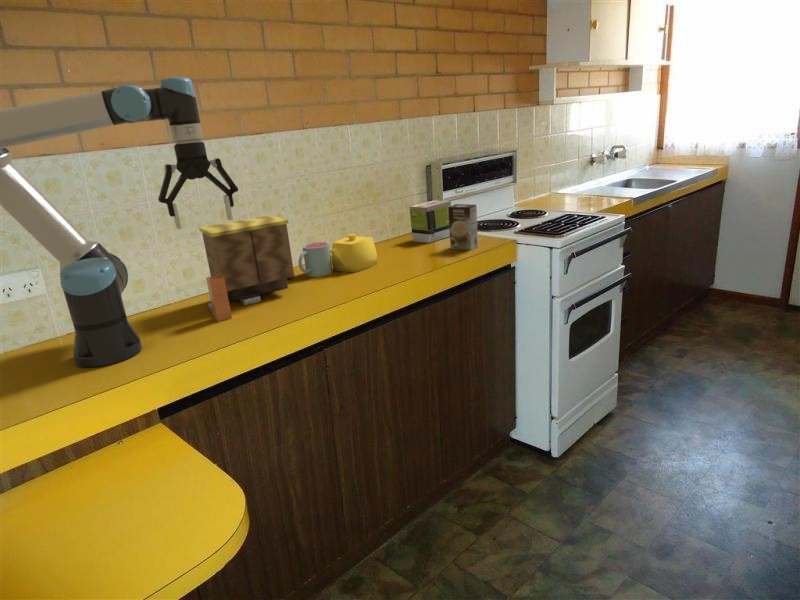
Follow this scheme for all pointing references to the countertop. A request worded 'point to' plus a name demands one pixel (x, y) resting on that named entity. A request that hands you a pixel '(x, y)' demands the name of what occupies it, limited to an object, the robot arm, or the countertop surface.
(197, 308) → the countertop surface
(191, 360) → the countertop surface
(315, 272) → the mug
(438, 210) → the tea box
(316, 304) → the countertop surface
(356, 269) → the teapot
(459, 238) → the coffee box
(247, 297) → the token
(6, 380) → the countertop surface
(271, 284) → the cabinet
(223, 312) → the upright terracotta brick
